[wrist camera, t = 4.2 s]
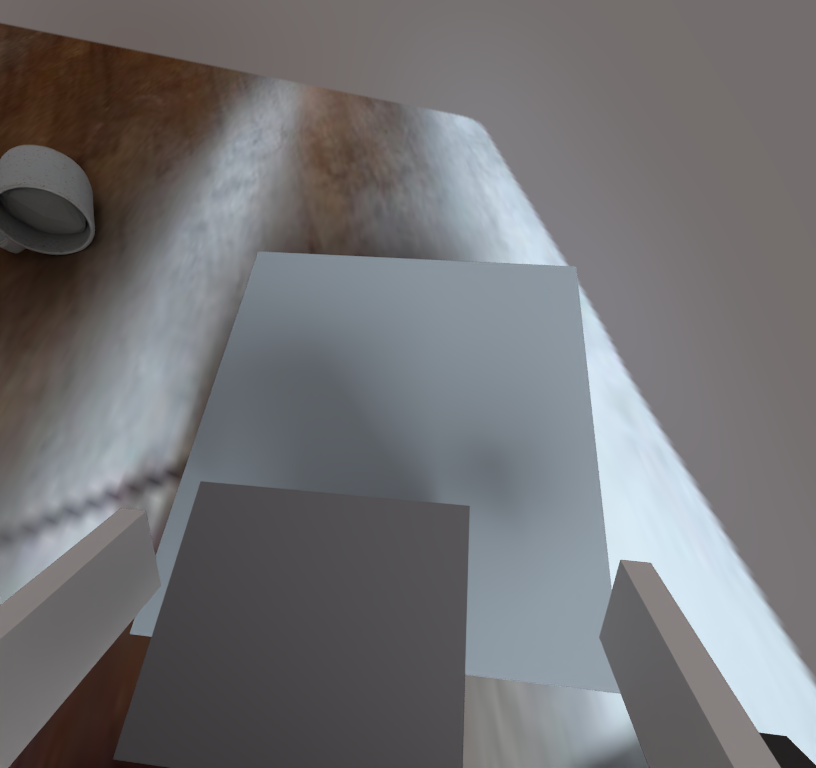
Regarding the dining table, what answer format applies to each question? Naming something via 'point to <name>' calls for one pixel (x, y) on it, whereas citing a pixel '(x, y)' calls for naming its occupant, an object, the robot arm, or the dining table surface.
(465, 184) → the dining table surface
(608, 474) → the dining table surface
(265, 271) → the lid
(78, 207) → the ceramic mug
